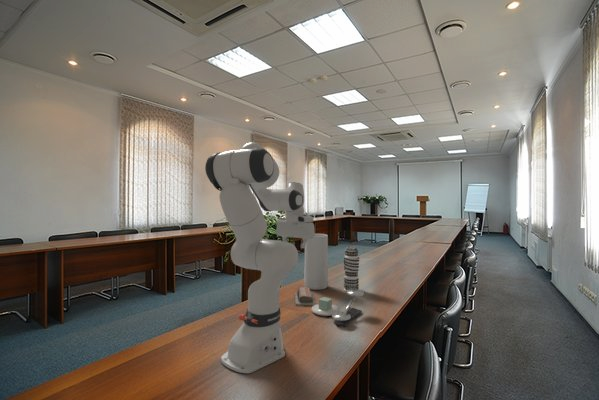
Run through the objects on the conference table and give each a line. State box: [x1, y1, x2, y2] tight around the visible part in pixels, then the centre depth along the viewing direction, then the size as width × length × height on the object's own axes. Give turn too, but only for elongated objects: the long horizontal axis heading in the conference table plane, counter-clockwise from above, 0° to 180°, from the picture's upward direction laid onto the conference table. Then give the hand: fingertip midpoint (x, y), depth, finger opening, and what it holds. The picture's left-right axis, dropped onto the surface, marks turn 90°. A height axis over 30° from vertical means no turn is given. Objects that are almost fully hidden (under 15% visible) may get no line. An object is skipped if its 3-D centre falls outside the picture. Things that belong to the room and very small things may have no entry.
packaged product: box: [294, 286, 316, 307], centre depth 153 cm, size 18×5×10 cm
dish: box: [311, 303, 340, 317], centre depth 137 cm, size 13×13×2 cm
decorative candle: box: [343, 246, 360, 292], centre depth 169 cm, size 9×9×25 cm
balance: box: [331, 288, 365, 327], centre depth 130 cm, size 22×8×10 cm, turn 145°
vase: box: [303, 233, 329, 291], centre depth 175 cm, size 14×14×32 cm
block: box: [318, 296, 333, 311], centre depth 136 cm, size 4×4×4 cm
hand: (294, 247), depth 135 cm, fingers open, 8 cm apart
